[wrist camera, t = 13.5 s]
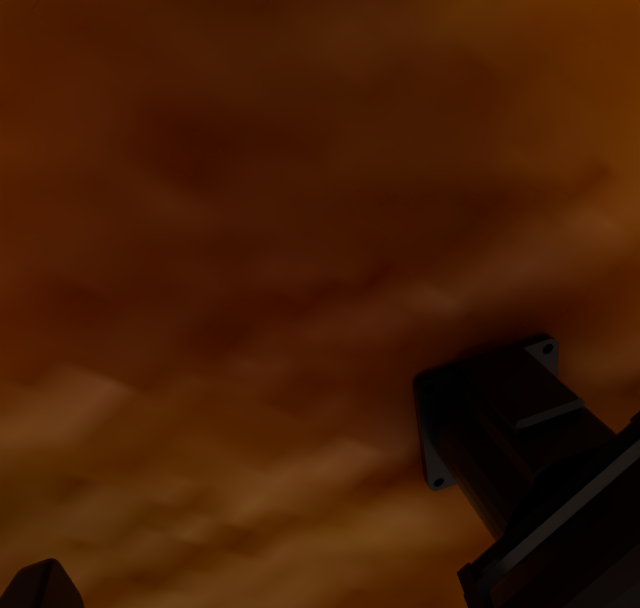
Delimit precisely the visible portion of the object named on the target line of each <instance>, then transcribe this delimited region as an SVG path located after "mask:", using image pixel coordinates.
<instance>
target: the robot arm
mask: <svg viewBox="0 0 640 608" xmlns="http://www.w3.org/2000/svg"><path fill="white" fill-rule="evenodd" d="M545 346H546V347H545ZM544 347H545V348H544ZM557 366H558V342H557V341H556V340H555V339H554V338H553V337H551V336H550V335H548V334H544V335H540V336H537V337H534V338H531V339H528V340H525V341H522V342H519V343H516V344H513V345H510V346H507V347H504V348H501V349H498V350H495V351H492V352H489V353H486V354H483V355H480V356H477V357H474V358H472V359H469V360H466V361H463V362H460V363H457V364H454V365H451V366H448V367H445V368H442V369H439V370H436V371H433V372H430V373H427V374H424V375H422V376H420V377H419V378H418V379H417V380H416V381H415V383H414V395H415V403H416V411H417V419H418V427H419V435H420V443H421V451H422V460H423V468H424V476H425V481H426V483H427V485H428V486H429V488H430V489H431V490H434V491H437V490H441V489H443V488H446V487H449V486H452V485H454V484H458V486H459V487H460V489H461V490H462V492H463V493H464V495H465V496H466V498H467V499H468V501H469V502H470V504H471V505H472V507H473V508H474V510H475V511H476V513H477V514H478V516H479V517H480V519H481V520H482V522H483V523H484V525H485V526H486V527H487V529H488V530H489V532H490V533H491V535H492V536H493V538H494V539H495V541H496V542H495V543H494V544H493V545H491V546H490V547H489V548H488V549H487V550H486V551H485V552H483V553H482V554H481V555H480V556H479V557H478V558H477V559H476V560H474V561H473V562H472V563H471V564H470V563H467V564H466V565H465V566H463V567H462V568H461V569H460V570H459V571H458V572H457V575H458V577H459V580H460V583H461V585H462V588H463V591H464V598H465V601H466V603H467V606H468V608H640V411H639V412H638V413H637V414H635V415H634V416H633V417H632V418H631V419H630V421H631V423H630V424H628V425H627V426H626V427H625V428H624V429H623V430H622V431H621V432H619V433H618V434H616V433H615V432H613V431H612V430H611V429H610V428H609V427H608V426H607V425H606V424H604V423H603V422H602V421H601V420H600V419H599V418H598V417H597V416H595V415H594V414H593V413H592V412H591V411H590V410H589V409H588V408H586V407H585V406H584V403H585V402H584V401H583V399H581V398H580V397H579V396H578V395H577V394H576V393H575V392H573V391H572V390H571V389H570V388H569V387H568V386H567V385H566V384H564V383H563V382H562V381H561V380H560V379H559V378H558V377H557ZM429 384H430V385H429ZM427 385H429V387H428V388H426V389H424V388H425V386H427ZM0 608H84V603H83V600H82V597H81V595H80V593H79V591H78V590H77V588H76V587H75V585H74V583H73V582H72V580H71V579H70V577H69V576H68V574H67V573H66V571H65V570H64V568H63V567H62V565H61V564H60V563H59V562H58V561H57V560H56V559H54V558H50V559H46V560H43V561H40V562H37V563H34V564H32V565H29V566H26V567H24V568H22V569H21V570H20V571H19V572H18V573H17V574H16V575H15V576H14V578H13V579H12V581H11V582H10V584H9V585H8V587H7V588H6V590H5V591H4V593H3V594H2V596H1V597H0Z"/></svg>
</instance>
